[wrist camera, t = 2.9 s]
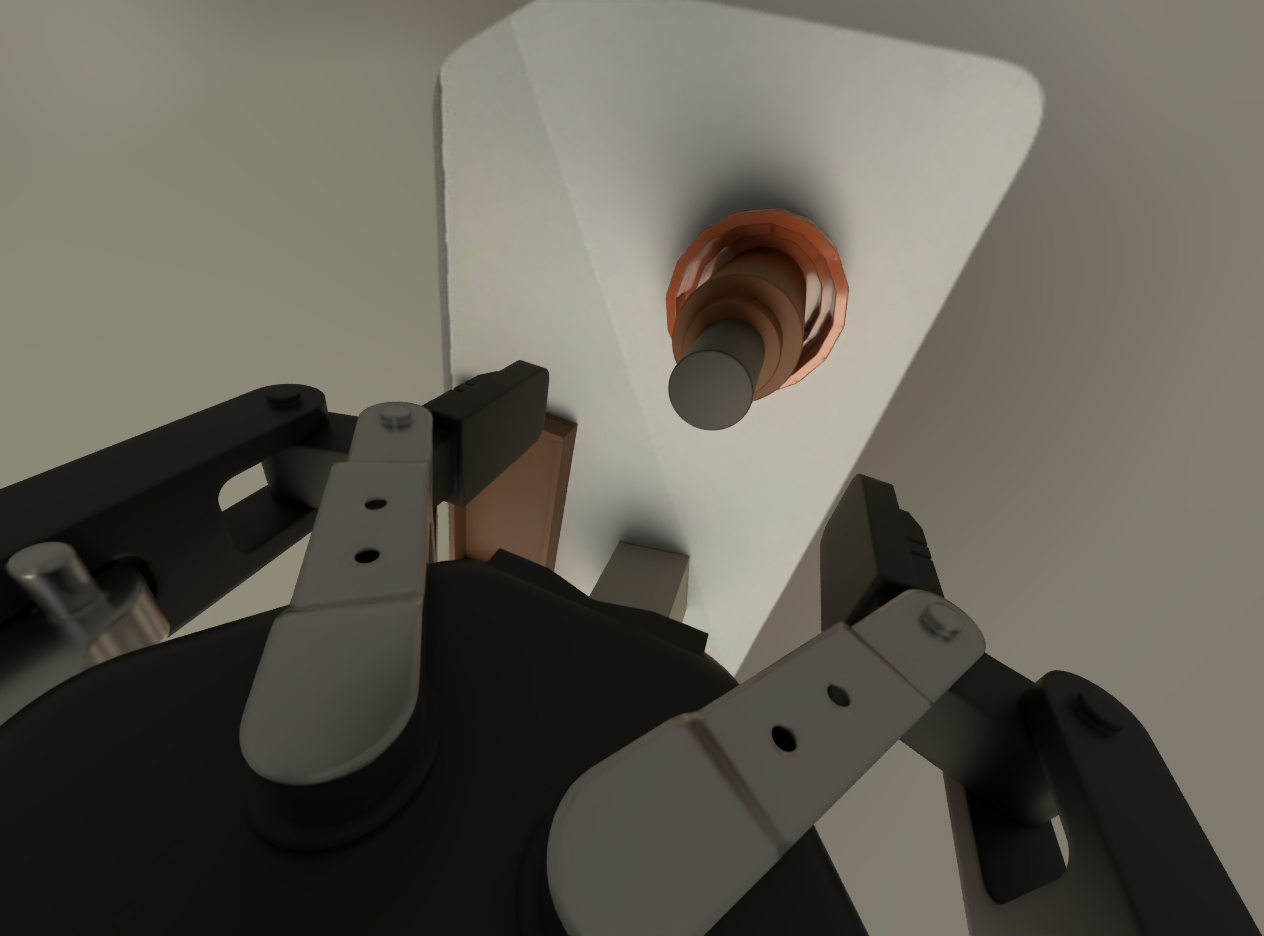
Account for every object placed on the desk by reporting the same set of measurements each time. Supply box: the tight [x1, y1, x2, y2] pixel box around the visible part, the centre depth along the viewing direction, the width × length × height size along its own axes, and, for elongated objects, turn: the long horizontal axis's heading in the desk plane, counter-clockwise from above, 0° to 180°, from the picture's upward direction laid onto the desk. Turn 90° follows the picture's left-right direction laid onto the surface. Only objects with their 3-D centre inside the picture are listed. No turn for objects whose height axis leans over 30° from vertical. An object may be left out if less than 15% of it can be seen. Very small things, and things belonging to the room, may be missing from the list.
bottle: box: [669, 247, 806, 430], centre depth 22 cm, size 6×6×17 cm
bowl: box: [666, 207, 849, 390], centre depth 28 cm, size 10×10×5 cm
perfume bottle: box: [589, 542, 690, 623], centre depth 37 cm, size 7×7×18 cm
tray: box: [449, 413, 577, 572], centre depth 45 cm, size 21×11×3 cm, turn 168°
